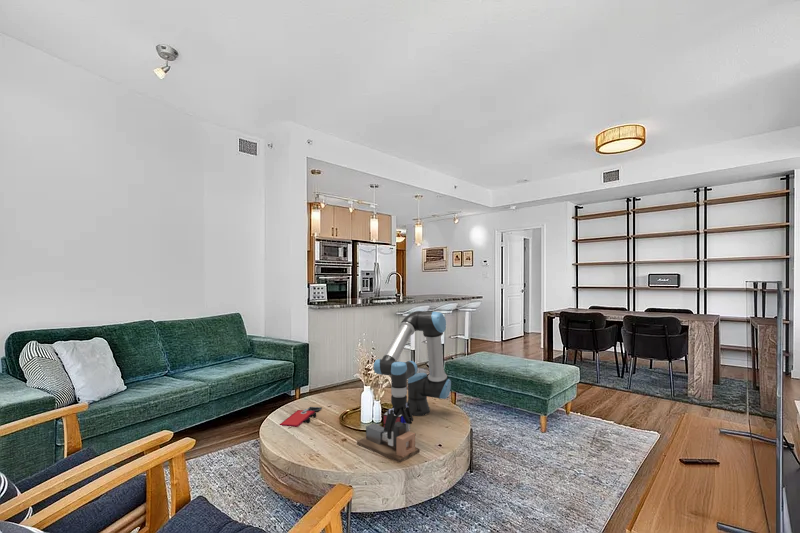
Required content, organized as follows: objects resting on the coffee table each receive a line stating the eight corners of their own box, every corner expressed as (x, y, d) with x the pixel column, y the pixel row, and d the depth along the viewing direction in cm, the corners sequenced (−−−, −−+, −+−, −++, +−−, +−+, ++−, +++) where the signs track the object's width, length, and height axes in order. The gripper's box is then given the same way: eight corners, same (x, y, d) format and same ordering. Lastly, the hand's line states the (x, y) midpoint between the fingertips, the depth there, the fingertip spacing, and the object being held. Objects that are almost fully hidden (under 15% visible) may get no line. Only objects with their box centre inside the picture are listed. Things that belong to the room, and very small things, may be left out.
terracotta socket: (408, 447, 185) (408, 431, 185) (415, 450, 183) (415, 433, 183) (396, 454, 179) (396, 437, 179) (402, 457, 176) (402, 439, 176)
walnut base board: (376, 435, 203) (376, 432, 203) (419, 451, 184) (419, 448, 184) (356, 444, 193) (356, 441, 193) (400, 462, 174) (400, 459, 174)
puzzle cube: (400, 436, 202) (400, 416, 203) (383, 433, 206) (382, 414, 206) (406, 428, 212) (406, 410, 212) (389, 426, 215) (389, 408, 215)
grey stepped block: (373, 436, 199) (373, 423, 199) (387, 441, 192) (387, 428, 192) (366, 439, 195) (366, 426, 195) (380, 445, 188) (380, 431, 188)
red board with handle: (325, 409, 243) (303, 407, 246) (325, 404, 243) (303, 403, 246) (303, 428, 214) (279, 427, 217) (303, 423, 214) (279, 422, 217)
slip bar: (383, 436, 194) (383, 416, 194) (410, 446, 182) (410, 425, 182) (376, 439, 190) (376, 419, 190) (403, 450, 178) (403, 428, 179)
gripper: (408, 387, 195) (408, 431, 195) (376, 399, 177) (376, 447, 177) (420, 390, 190) (420, 435, 190) (387, 403, 172) (388, 452, 172)
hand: (399, 441), depth 183 cm, fingers open, 11 cm apart
